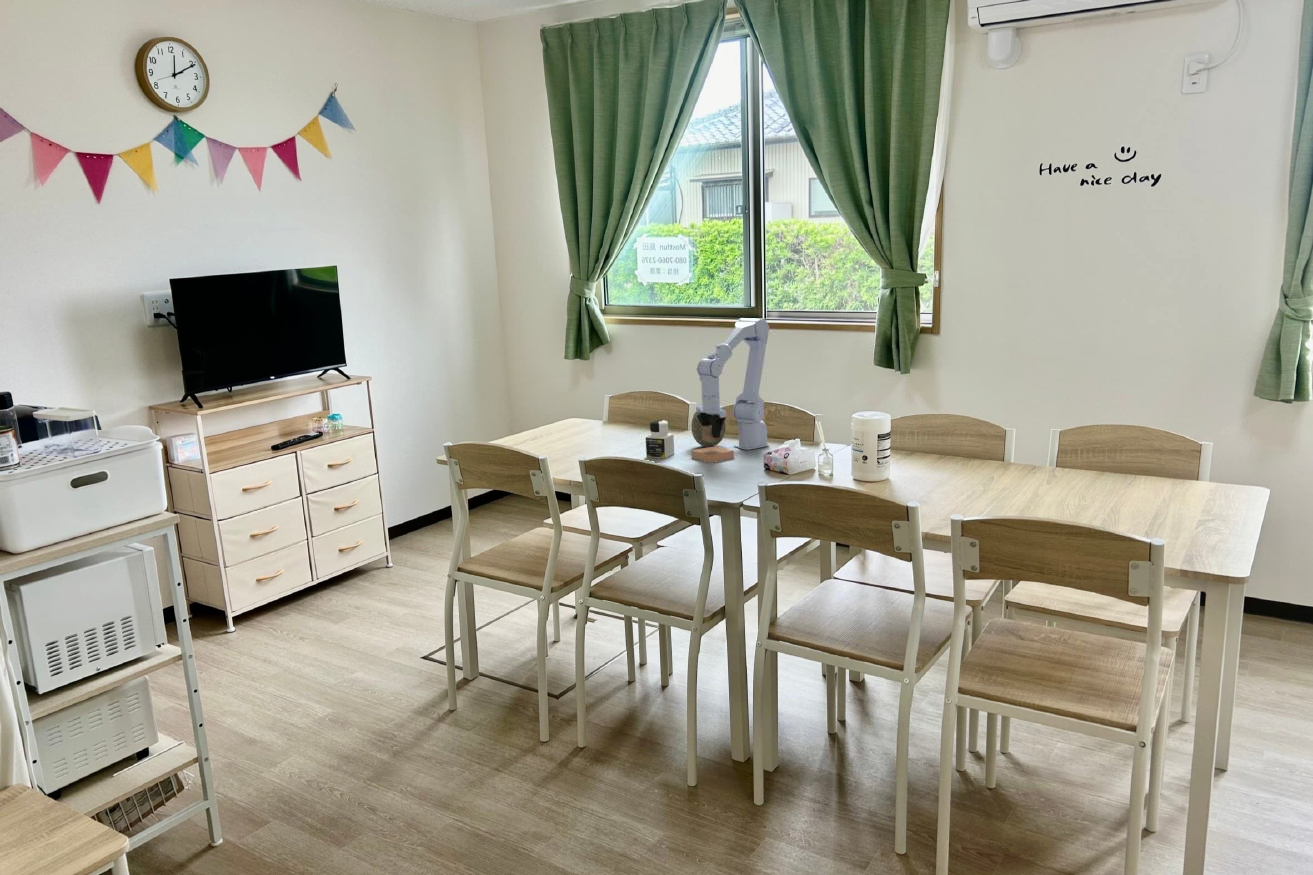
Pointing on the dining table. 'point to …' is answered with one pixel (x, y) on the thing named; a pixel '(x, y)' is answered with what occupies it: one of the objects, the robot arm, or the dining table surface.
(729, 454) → the terracotta slab
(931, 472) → the dining table surface
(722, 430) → the decorative egg
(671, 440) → the medicine bottle
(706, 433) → the walnut block
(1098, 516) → the dining table surface
